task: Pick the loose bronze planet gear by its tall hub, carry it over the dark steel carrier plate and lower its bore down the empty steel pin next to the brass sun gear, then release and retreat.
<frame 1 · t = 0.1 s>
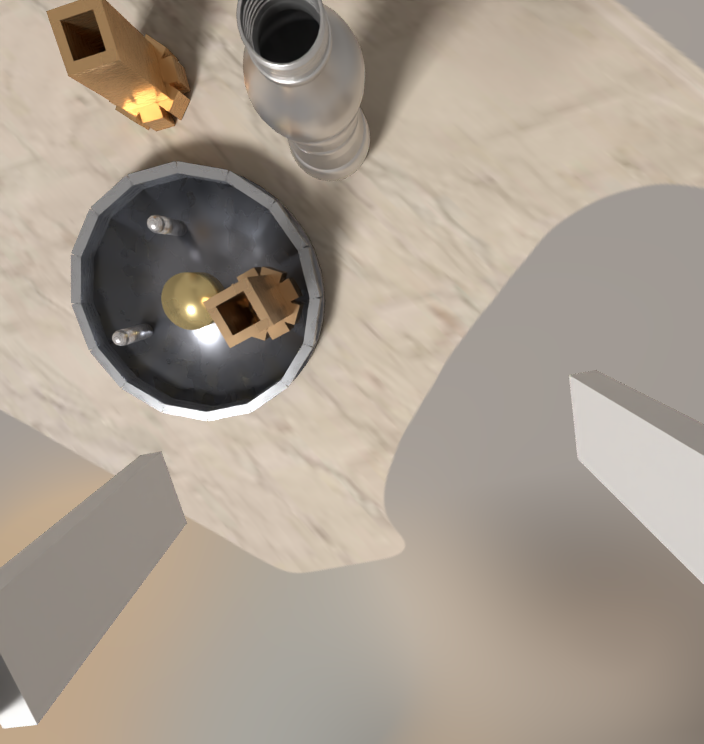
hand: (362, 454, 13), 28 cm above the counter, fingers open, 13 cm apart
seated gear: (269, 302, 39), resting on carrier
planet gear: (154, 89, 36), on the counter
carrier: (206, 298, 41), on the counter
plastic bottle: (332, 146, 37), on the counter
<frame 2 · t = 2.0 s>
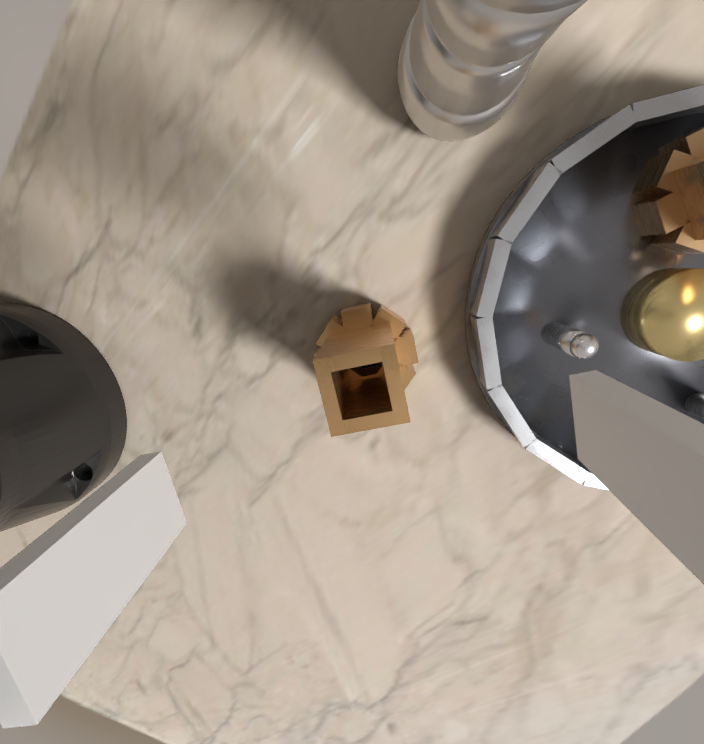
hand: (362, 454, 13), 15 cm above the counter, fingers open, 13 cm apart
seated gear: (691, 194, 24), resting on carrier
planet gear: (366, 351, 28), on the counter
carrier: (651, 308, 26), on the counter
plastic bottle: (452, 87, 24), on the counter
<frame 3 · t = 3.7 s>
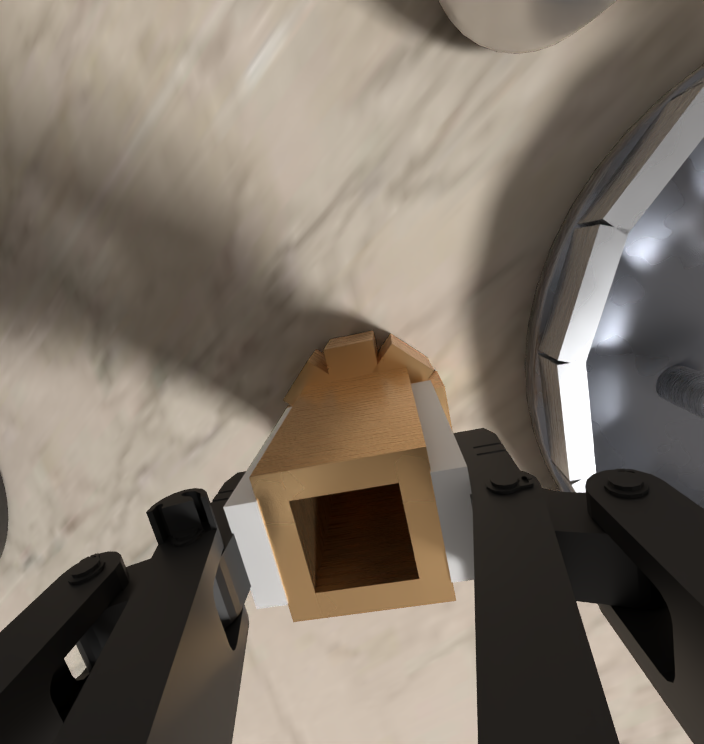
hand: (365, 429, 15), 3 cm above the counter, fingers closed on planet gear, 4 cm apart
planet gear: (367, 405, 18), on the counter, touching gripper
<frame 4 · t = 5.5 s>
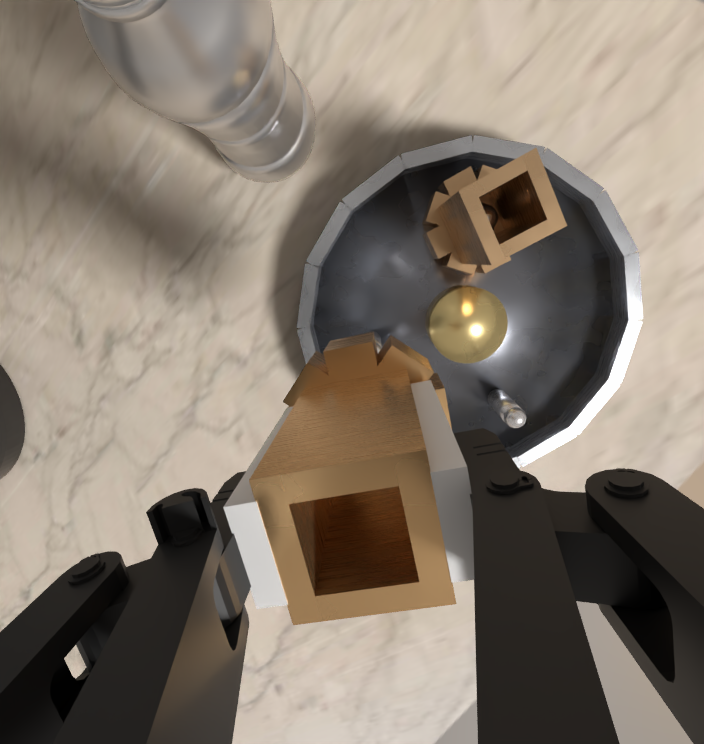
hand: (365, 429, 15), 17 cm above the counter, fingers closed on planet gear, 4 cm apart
seated gear: (470, 224, 28), resting on carrier
planet gear: (367, 407, 18), point 15 cm above the counter, touching gripper
carrier: (457, 318, 31), on the counter
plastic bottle: (274, 136, 29), on the counter
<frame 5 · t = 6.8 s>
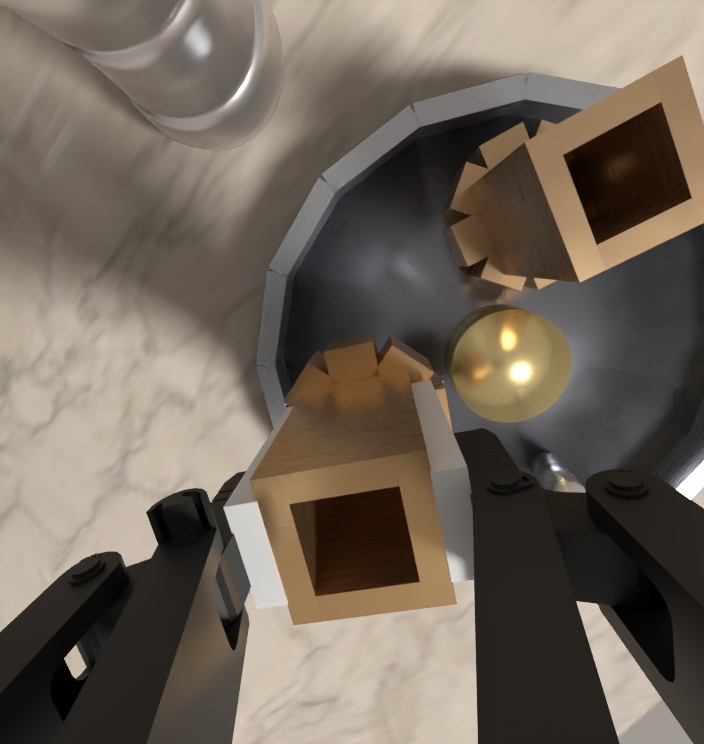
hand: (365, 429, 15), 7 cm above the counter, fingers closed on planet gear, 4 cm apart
seated gear: (514, 215, 19), resting on carrier
planet gear: (367, 407, 18), point 5 cm above the counter, touching gripper
carrier: (489, 350, 22), on the counter
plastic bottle: (226, 84, 20), on the counter
when the fingers open (5 cm above the counter, at t = 7.5 s): planet gear stays where it is, resting on carrier.
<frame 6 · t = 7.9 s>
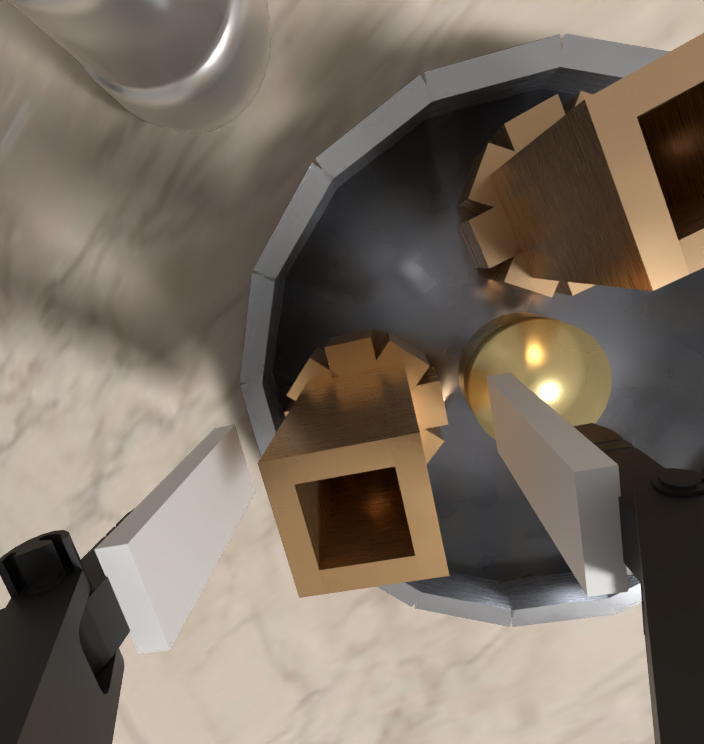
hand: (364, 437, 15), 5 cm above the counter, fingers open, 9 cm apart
seated gear: (541, 208, 16), resting on carrier
planet gear: (367, 400, 19), point 1 cm above the counter, touching carrier
carrier: (509, 364, 19), on the counter
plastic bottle: (206, 56, 17), on the counter
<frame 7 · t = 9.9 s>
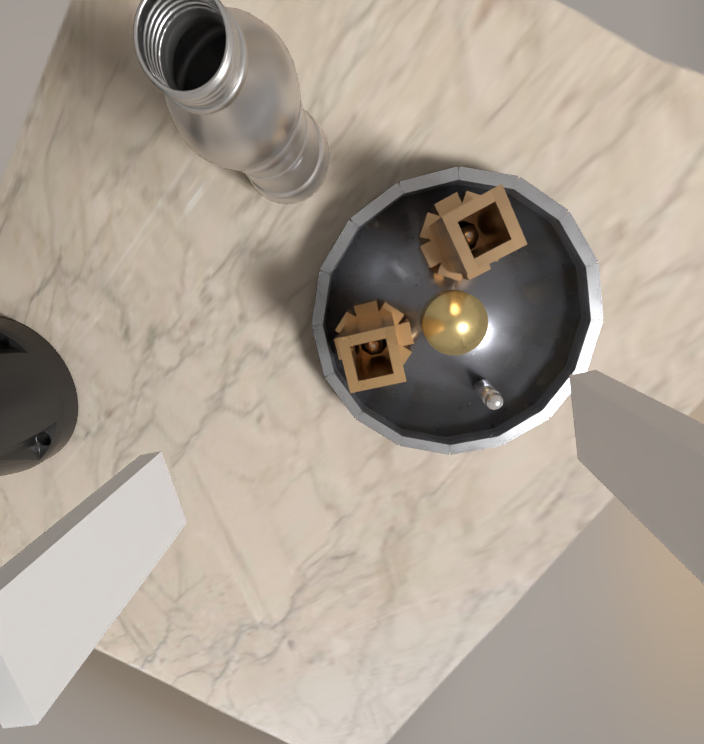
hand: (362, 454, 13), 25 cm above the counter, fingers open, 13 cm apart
seated gear: (458, 238, 34), resting on carrier
planet gear: (374, 336, 36), point 1 cm above the counter, touching carrier
carrier: (448, 317, 37), on the counter
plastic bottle: (294, 164, 35), on the counter
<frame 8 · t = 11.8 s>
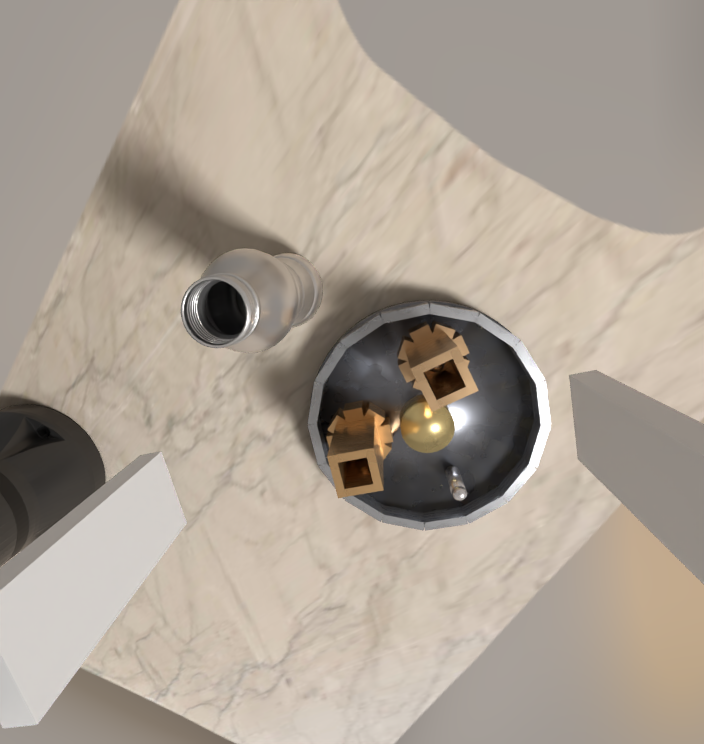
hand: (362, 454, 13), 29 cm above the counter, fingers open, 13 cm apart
seated gear: (430, 354, 40), resting on carrier
planet gear: (360, 430, 43), point 1 cm above the counter, touching carrier
carrier: (423, 414, 43), on the counter
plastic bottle: (293, 289, 41), on the counter
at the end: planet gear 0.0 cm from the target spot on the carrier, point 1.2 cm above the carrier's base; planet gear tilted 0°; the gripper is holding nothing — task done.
